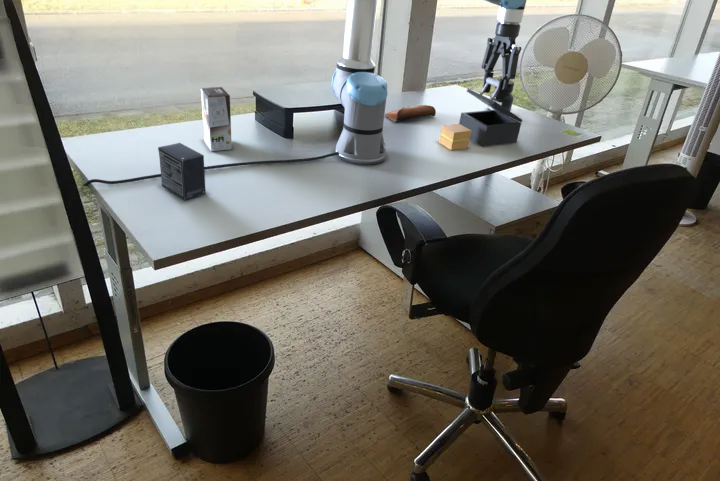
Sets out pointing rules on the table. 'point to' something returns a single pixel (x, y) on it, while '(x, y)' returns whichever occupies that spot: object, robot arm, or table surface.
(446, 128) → the toast sandwich
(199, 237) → the table surface
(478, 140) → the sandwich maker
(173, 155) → the small box
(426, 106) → the sunglasses case
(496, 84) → the grill lid
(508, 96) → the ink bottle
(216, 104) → the coffee box
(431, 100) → the table surface
